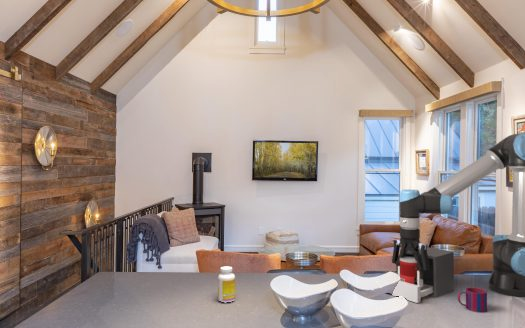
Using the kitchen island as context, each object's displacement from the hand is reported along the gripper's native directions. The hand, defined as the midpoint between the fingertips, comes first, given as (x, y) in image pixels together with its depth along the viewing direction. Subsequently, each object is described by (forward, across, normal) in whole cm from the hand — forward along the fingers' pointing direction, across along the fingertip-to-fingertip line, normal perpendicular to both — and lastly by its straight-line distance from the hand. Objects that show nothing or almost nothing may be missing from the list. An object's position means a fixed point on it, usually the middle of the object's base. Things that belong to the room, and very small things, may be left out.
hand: (410, 284), depth 152 cm
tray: (+4, 0, 0) cm, 4 cm away
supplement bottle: (+4, -39, -63) cm, 74 cm away
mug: (+5, +22, +4) cm, 23 cm away
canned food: (+1, 0, 0) cm, 1 cm away
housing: (+4, 0, +12) cm, 13 cm away
